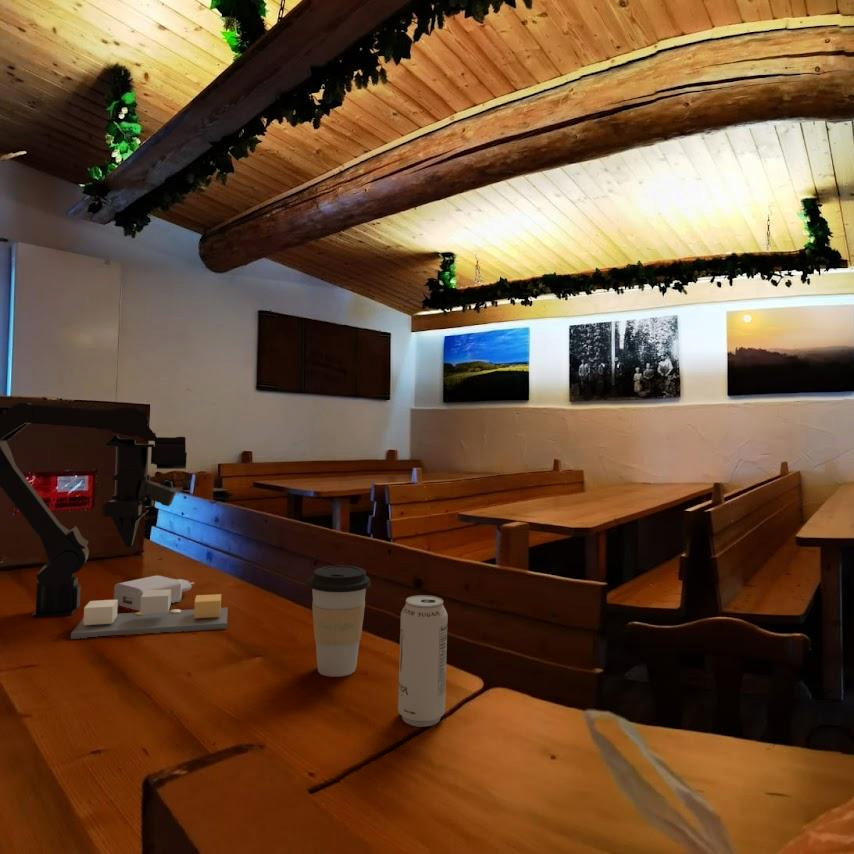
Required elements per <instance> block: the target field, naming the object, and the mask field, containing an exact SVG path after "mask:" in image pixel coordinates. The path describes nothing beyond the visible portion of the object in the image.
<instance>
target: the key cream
mask: <svg viewBox="0 0 854 854" xmlns="http://www.w3.org/2000/svg"><path fill="white" fill-rule="evenodd" d="M118 608H119V606H118V600H114V599H103V600H102V599H101V600H90V601H89V602H88V603H87V604H86V605H85V606H84V607H83V618H84V625H96V624H112V623H113V622H114V620H115V619H116V617H117V614H118Z"/></svg>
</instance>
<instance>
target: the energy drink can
mask: <svg viewBox="0 0 854 854" xmlns="http://www.w3.org/2000/svg"><path fill="white" fill-rule="evenodd" d="M399 631H400V633H399V636H400V637H399V664H398V667H399V669H398V671H399V672H398V696H397V697H398V698H397V699H398V700H397V702H398V703H397V704H398V705H397V711H398V714H399V715H400V716H401V719H402V721H403V722H404V723H405V724H408V725H410V726H414V727H417V728H420V727H421V728H422V727H424V728H425V727H431V726H434V725H437V724H438V723H439V722H440V721H441V717H442V716H444V714H445V711H446V689H447V688H446V687H447V685H446V682H447V680H446V679H447V649H448V646H447V644H448V612H447V610H446V608H445V606H444V600H443V599H442V598H441V597H439V596H435V595H427V594H426V595H425V594H424V595H423V594H420V595H412V596H409V597H407V598H406V600H405V605H404V607H403V608H402V610H401V611H400V630H399Z"/></svg>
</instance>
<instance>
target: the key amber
mask: <svg viewBox="0 0 854 854" xmlns="http://www.w3.org/2000/svg"><path fill="white" fill-rule="evenodd" d="M221 608H222V593H218V594H217V593H216V594H201V595H200V594H199V595H196V596H195V599H194V608H193V609H194V618H209V617H220V613H221Z"/></svg>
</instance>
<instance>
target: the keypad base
mask: <svg viewBox="0 0 854 854" xmlns="http://www.w3.org/2000/svg"><path fill="white" fill-rule="evenodd" d="M228 611H229V607H221V613H220V617H209V618H194V608H192V609H179V608H177V609H176V608H175V609H171V610H168V612H164V613H147V614H141V611H140V612H137V611H135V612H128V613H125V612H124V613H123V612H122V613H117V617H116V619H115V620H114V622H113V623H112V624H96V625H84V617H83V618H82V619H81V620H80V621H79V623H78V624H77V626H75V628H74V629H73V630H72V631H71V633H70V640H78V639H80V638H81V639H88V638H87V637H96V638H98V637H97V636H109V635H123V634H137V633H155V634H159V633H158V632H170V633H183V632H182V631H184V632H195V631H210V630H211V631H212V630H213V629H214V630H226V629H227V628H228V627H227V626H228V616H229V615H228V613H229V612H228ZM156 632H157V633H156Z"/></svg>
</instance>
